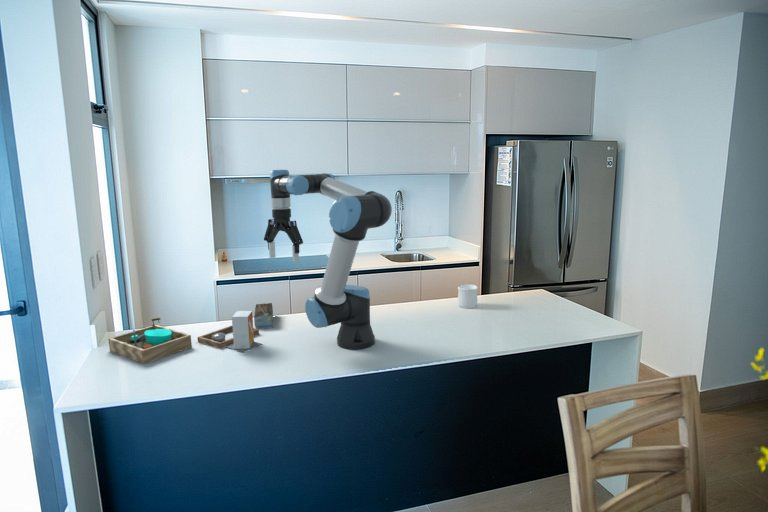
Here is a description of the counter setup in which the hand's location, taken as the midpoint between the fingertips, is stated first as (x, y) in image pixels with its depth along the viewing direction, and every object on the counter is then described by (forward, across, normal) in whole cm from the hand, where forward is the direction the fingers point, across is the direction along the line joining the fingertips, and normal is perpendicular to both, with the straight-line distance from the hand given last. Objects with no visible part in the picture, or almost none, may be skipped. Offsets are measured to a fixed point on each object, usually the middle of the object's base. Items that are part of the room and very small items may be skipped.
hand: (284, 259), depth 216 cm
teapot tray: (+32, +32, +43) cm, 62 cm away
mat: (+32, +3, +21) cm, 38 cm away
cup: (+32, -47, -76) cm, 95 cm away
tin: (+32, +16, +23) cm, 42 cm away
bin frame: (+32, +16, +18) cm, 40 cm away
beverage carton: (+32, +20, -5) cm, 38 cm away
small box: (+31, +3, +21) cm, 38 cm away
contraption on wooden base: (+32, +32, +43) cm, 62 cm away
